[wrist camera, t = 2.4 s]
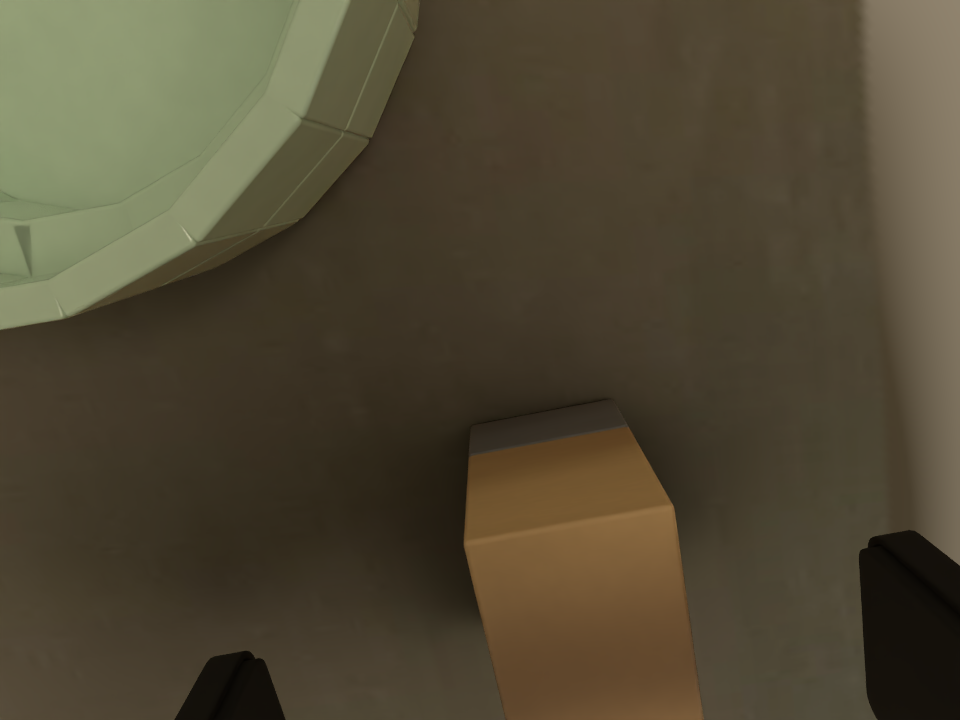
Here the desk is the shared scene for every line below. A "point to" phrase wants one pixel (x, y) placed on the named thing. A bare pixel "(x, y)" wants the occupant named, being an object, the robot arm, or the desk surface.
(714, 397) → the desk surface
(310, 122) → the bowl
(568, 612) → the eraser
